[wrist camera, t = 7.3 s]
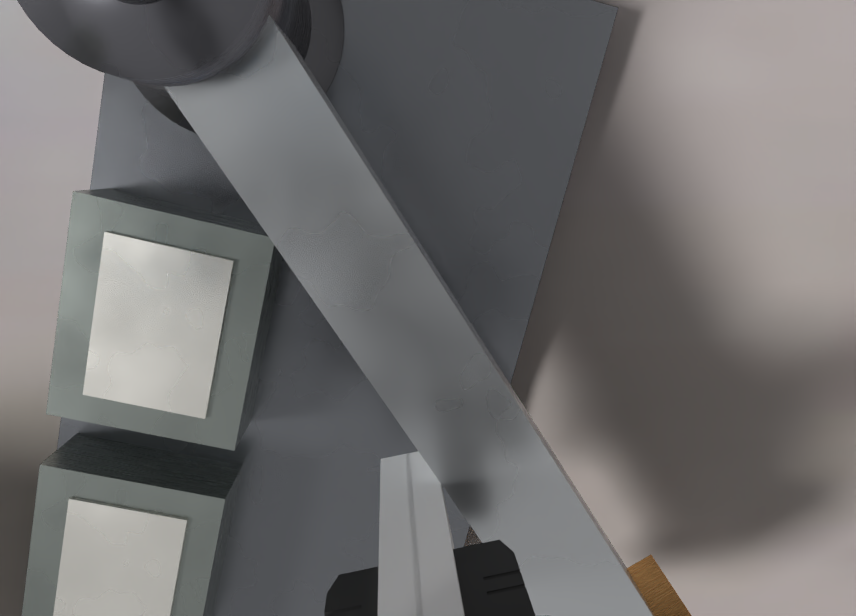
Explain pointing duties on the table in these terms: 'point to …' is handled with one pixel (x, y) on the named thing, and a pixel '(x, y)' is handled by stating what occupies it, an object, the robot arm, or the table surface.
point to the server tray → (285, 312)
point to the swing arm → (364, 275)
